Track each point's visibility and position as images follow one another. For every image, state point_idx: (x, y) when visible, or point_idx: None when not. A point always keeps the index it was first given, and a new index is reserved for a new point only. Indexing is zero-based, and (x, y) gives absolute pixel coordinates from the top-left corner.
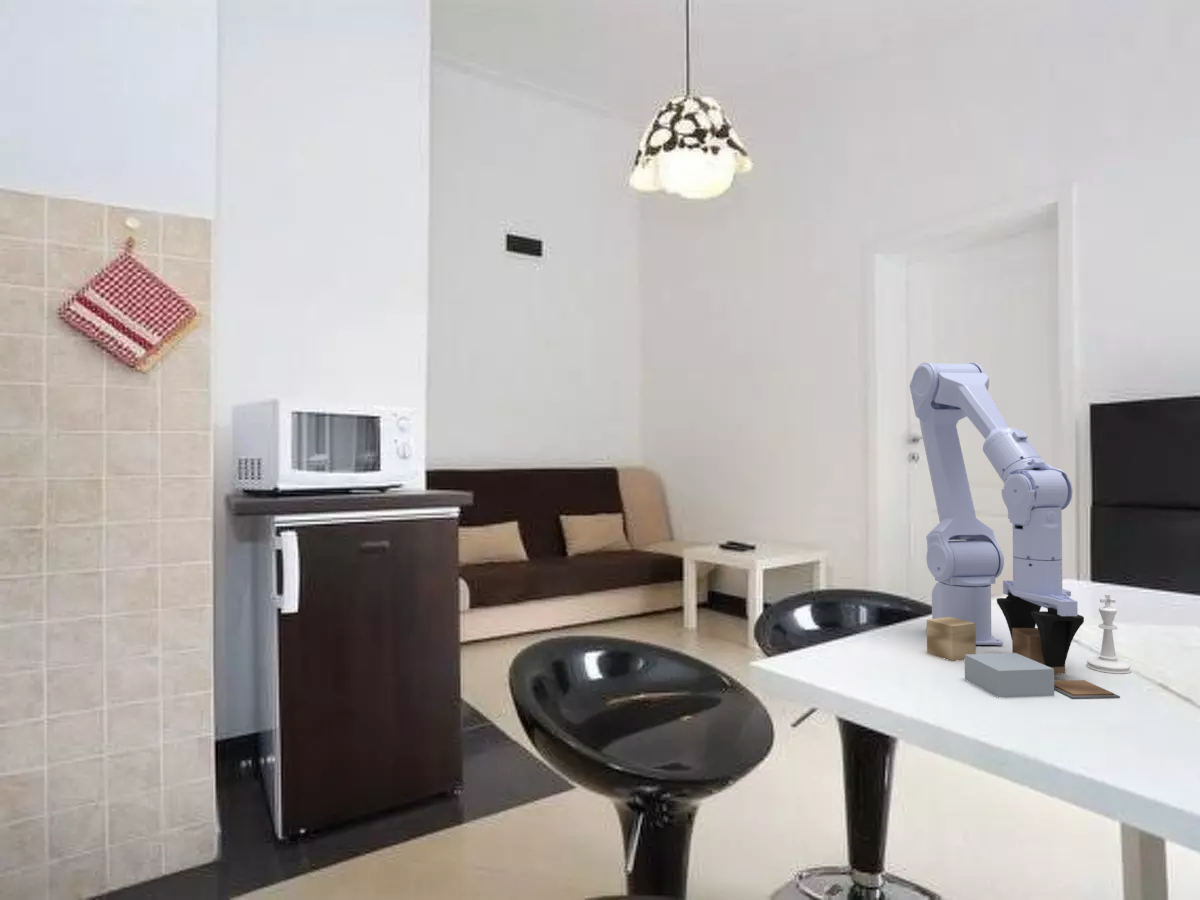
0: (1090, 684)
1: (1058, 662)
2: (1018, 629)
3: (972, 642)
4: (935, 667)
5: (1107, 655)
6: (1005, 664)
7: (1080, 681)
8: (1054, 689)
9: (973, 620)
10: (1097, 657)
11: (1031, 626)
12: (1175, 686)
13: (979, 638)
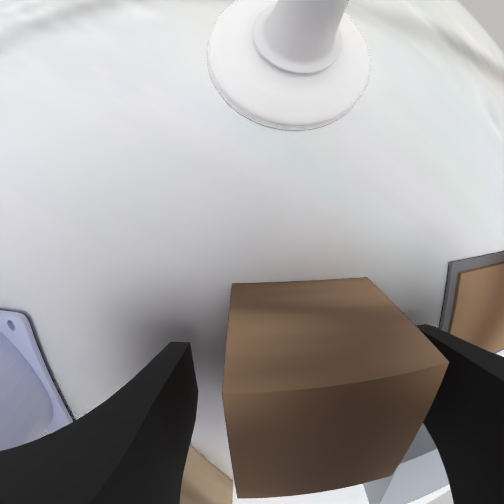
0: (485, 277)
1: None
2: (269, 492)
3: (189, 484)
4: (281, 500)
5: (330, 49)
6: None
7: (467, 293)
8: None
9: (19, 438)
10: (259, 65)
11: (157, 424)
12: (457, 22)
13: (36, 386)
